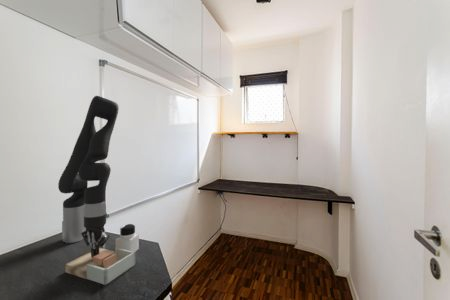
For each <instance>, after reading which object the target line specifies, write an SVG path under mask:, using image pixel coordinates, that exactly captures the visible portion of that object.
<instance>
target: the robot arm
mask: <svg viewBox="0 0 450 300" xmlns="http://www.w3.org/2000/svg"><path fill="white" fill-rule="evenodd" d="M119 109H120V108H119V104H118V103H117V102H116V101H113V100H110V99H108V98H105V97H102V96H100V95H94V97H92V99H91V101H90V103H89V106H88V110H87V112H86V115H85V120H84V122H83V126H82V128H81V130H80V133H79V135H78V137H77V140H76V142H75V145H74V147H73V149H72V153H71V155H70V157H69V161H68V162H67V164H66V166H65V168H64V170H63V171H62V174H61V176H60V178H59V180H58V184H57V185H58V190H59V192H60V193H62V194H71V193H72V195H71V196H69V197H68V198H66V199H65V200H63V201H62V221H61V237H62V238H61V240H62V239H63V240H62V242H63V243H64V242H65V244H73V243H77V242H81V241H84V243H85V244H86V246H87V247H89V249H90V252H91V257H92V258H93V257H94V256H96V255H98V254H99V248H102V247H103V246H104V245H105V244H106V243H107V241H108V240H109V238H110V234H106V230H105V225H106V224H107V203H106V202H107V201H106V190H107V184H108V182H109V178H110V174H111V171H112V169H111V166H110V165H109V164H108V163H107V162H101V161H103V160H105V159H107V158H108V155H109V148H110V141H111V137H112V134H113V131H114V128H115V124H116V121H117V117H118V114H119ZM95 118H99V119H102V120H105V121H106V124H105V125H104V126H102V127H101V128H100V129H99V130H96V125H95ZM95 181H99V182H98V184H96V185H93V186H88V185H89V184H88V182H95Z"/></svg>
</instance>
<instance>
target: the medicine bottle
mask: <svg viewBox="0 0 450 300" xmlns="http://www.w3.org/2000/svg"><path fill="white" fill-rule="evenodd" d="M139 243H140V234H139V233H136V225H135V224H132V223H128V224H124V225H121V226H120V227H119V236H118V237H116V239H115V252H116V249H117V248H121V249H125V250H129V251H133V252H135V253H136V252H137V251H138V250H139V249H140V245H139Z"/></svg>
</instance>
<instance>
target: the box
mask: <svg viewBox="0 0 450 300" xmlns="http://www.w3.org/2000/svg"><path fill="white" fill-rule="evenodd" d="M116 254H117V259H118V262H116V263H115V264H113V265H111V266H110V267H108V268H106V269H105V268H104V267H103V268H101V267H98V266H95V265H91V264H87V265H86V279H85V280H89V281H93V282H96V283H98V284H102V285H103V286H106V285H107V284H110V283H111V282H112V281H113V280H115V279H116V278H118V277H120V275H122V274H124V273H125V272H127V271H128V270H129V269H131V268H132V267H134V266H135V265H136V252H133V251H129V250H125V249H121V248H117V249H116Z"/></svg>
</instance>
